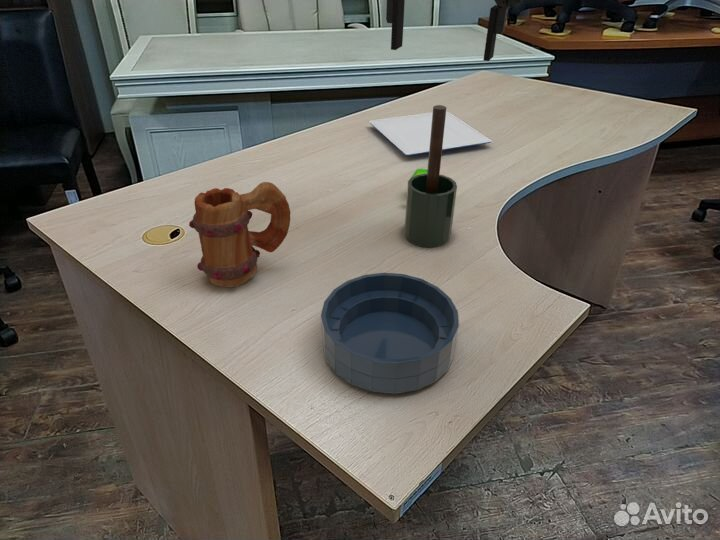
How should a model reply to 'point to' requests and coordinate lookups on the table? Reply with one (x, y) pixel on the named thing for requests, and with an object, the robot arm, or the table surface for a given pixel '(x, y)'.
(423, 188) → the holder
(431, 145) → the stick
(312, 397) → the table surface
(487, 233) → the table surface
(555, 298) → the table surface
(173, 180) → the table surface
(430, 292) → the bowl
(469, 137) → the plate
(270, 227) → the mug
